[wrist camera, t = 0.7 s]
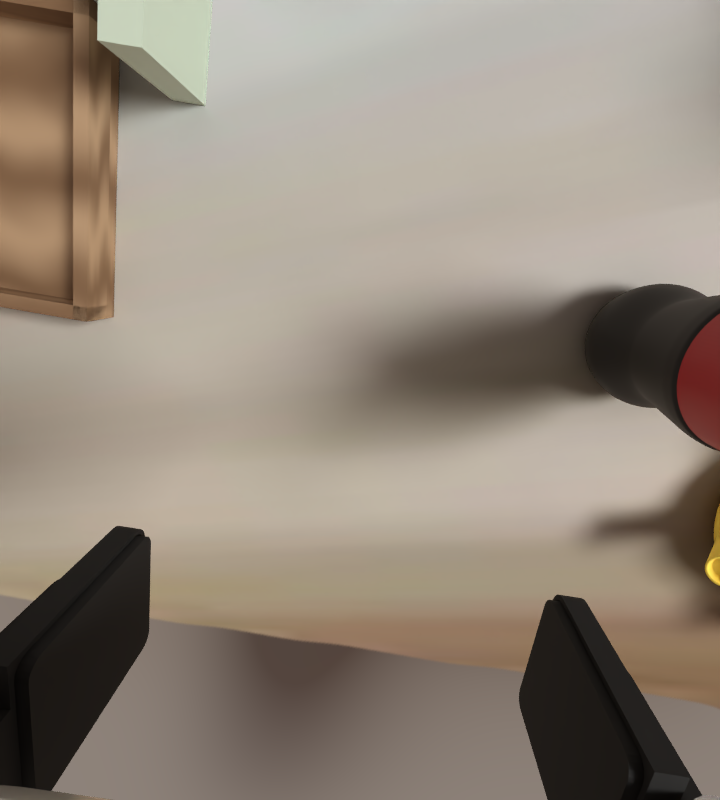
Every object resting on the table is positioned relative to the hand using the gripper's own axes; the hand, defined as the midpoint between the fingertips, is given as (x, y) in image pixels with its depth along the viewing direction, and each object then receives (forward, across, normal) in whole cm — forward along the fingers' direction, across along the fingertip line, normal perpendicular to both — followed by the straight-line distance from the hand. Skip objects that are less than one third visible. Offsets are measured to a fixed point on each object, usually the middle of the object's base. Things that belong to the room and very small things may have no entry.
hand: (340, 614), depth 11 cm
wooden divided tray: (+28, +30, -11) cm, 42 cm away
